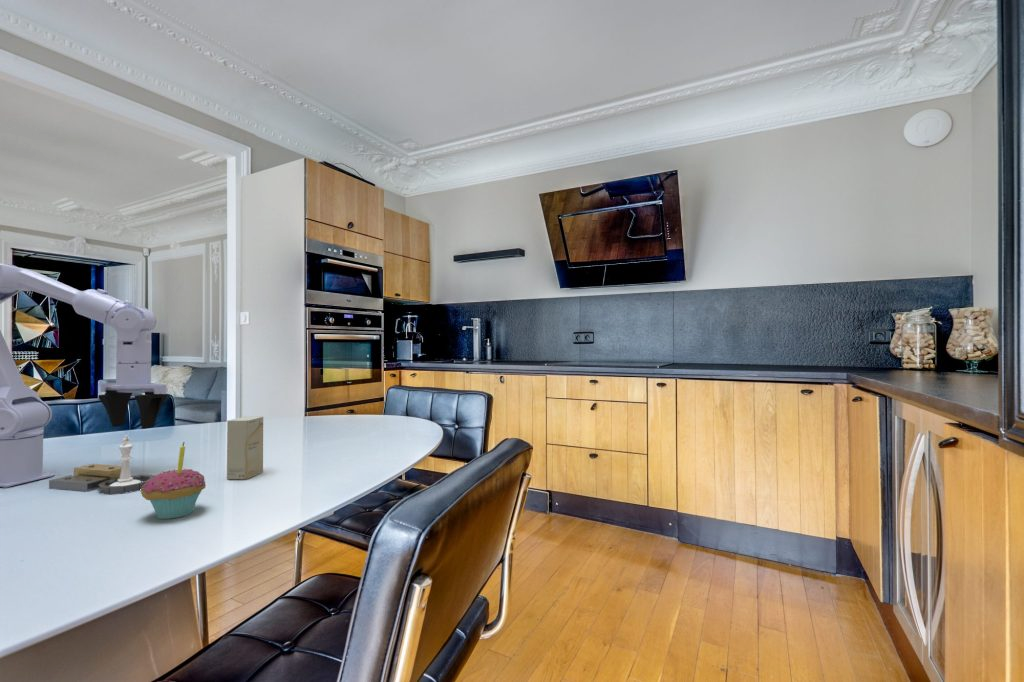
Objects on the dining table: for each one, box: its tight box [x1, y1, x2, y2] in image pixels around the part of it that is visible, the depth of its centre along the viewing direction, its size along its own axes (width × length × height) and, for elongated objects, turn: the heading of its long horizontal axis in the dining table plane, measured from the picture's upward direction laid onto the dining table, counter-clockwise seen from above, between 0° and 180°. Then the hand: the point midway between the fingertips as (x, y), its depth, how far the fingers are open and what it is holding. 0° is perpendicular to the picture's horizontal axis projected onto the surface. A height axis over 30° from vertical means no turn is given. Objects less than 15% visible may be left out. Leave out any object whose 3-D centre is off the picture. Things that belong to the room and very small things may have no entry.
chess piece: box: [109, 435, 141, 486], centre depth 87 cm, size 5×5×10 cm
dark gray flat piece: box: [48, 474, 155, 495], centre depth 88 cm, size 18×8×2 cm, turn 79°
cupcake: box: [140, 441, 207, 520], centre depth 74 cm, size 9×8×12 cm
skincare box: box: [226, 415, 264, 480], centre depth 96 cm, size 6×4×12 cm
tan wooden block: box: [73, 463, 122, 480], centre depth 91 cm, size 9×4×2 cm, turn 79°
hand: (133, 426), depth 96 cm, fingers open, 7 cm apart
